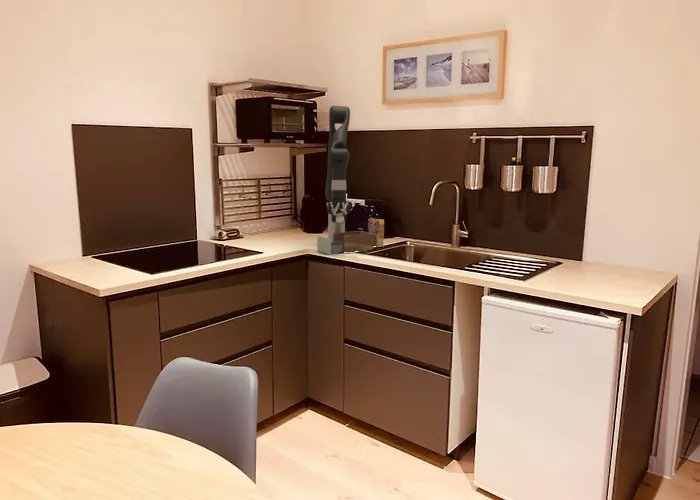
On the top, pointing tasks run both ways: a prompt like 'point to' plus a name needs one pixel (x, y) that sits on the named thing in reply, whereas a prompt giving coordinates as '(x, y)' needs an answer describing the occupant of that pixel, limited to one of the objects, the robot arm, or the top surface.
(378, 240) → the candy box
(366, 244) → the sleeve
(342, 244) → the grey boxy piece
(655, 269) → the top surface
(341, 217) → the steel tin
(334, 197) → the robot arm
